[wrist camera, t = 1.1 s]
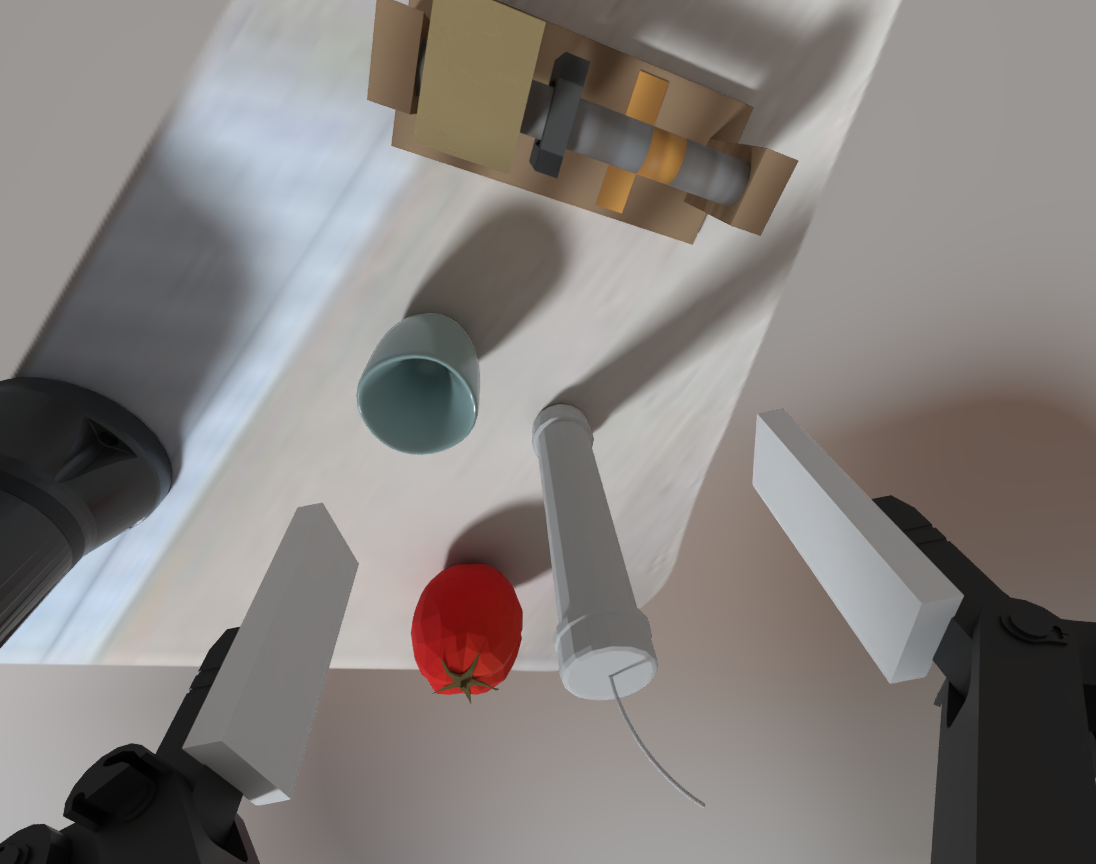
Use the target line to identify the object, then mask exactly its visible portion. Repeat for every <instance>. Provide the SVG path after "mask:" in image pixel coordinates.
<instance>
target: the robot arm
mask: <svg viewBox="0 0 1096 864" xmlns="http://www.w3.org/2000/svg"><path fill="white" fill-rule="evenodd" d="M171 481H172V472H171V466H170V462H169V459H168V457H167V454H166V452H165V450H164V449H163V447H162V445H161V444H160V442H159V441H158V440H157V438H156V437H155V436H154V434H153V433H152V432H151V431H150V430H149V429H148V428H147V427H146V426H145V425H144V424H143V423H142V422H141V421H140V420H138V419H137V418H136V417H135V416H133V415H132V414H131V413H129V412H128V411H127V410H125V409H124V408H122V407H121V406H119V405H117V404H116V403H114V402H112V401H110V400H109V399H107V398H105V397H103V396H101V395H98V394H96V393H94V392H92V391H89V390H86V389H84V388H81V387H78V386H75V385H72V384H68V383H64V382H60V381H55V380H49V379H40V378H15V379H8V380H3V381H0V648H1V647H2V646H3V645H4V644H5V643H6V642H7V640H8V639H9V638H10V637H11V636H12V635H13V634H14V633H15V631H16V630H17V629H18V628H19V627H20V626H21V625H22V624H23V623H24V621H25V620H26V619H27V618H28V617H29V616H30V615H31V614H32V612H33V611H34V610H35V609H36V608H37V607H38V606H39V605H40V603H41V602H42V601H43V600H44V599H45V598H46V597H47V596H48V594H49V593H50V592H51V591H52V590H53V589H54V588H55V587H56V585H57V584H58V583H59V582H60V581H61V580H62V579H63V578H64V577H65V575H66V574H67V573H68V572H69V571H70V570H71V569H72V568H73V567H74V566H75V565H76V564H77V562H78V561H79V560H80V559H81V558H82V557H83V556H84V555H86V554H88V553H89V552H91V551H93V550H94V549H96V548H98V547H99V546H101V545H103V544H104V543H106V542H108V541H109V540H111V539H112V538H114V537H116V536H117V535H119V534H120V533H122V532H124V531H127V530H129V529H131V528H133V527H135V526H136V525H138V524H140V523H141V522H143V521H144V520H145V519H146V518H147V517H149V516H150V515H151V514H152V512H153V511H154V510H155V509H156V508H157V507H158V505H159V504H160V503H161V502H162V501H163V499H164V498H165V497H166V495H167V493H168V491H169V489H170V486H171ZM752 485H753V486H754V488H755V489H756V490H757V492H758V493H759V494H760V496H761V498H762V499H763V500H764V502H765V504H766V505H767V506H768V508H769V509H770V511H771V512H772V514H773V515H774V516H775V518H776V519H777V521H778V522H779V524H780V525H781V527H782V528H783V529H784V531H785V532H786V534H787V535H788V536H789V538H790V540H791V541H792V543H793V544H794V545H795V547H796V548H797V550H798V551H799V553H800V554H801V556H802V557H803V558H804V560H805V561H806V563H807V564H808V566H809V567H810V568H811V570H812V572H813V573H814V574H815V576H816V577H817V579H818V580H819V581H820V583H821V584H822V586H823V587H824V589H825V590H826V592H827V593H828V595H829V596H830V598H831V599H832V600H833V602H834V603H835V605H836V606H837V608H838V609H839V611H840V612H841V613H842V615H843V616H844V618H845V619H846V621H847V622H848V624H849V625H850V626H851V628H852V629H853V631H854V632H855V633H856V635H857V636H858V638H859V639H860V641H861V642H862V644H863V645H864V647H865V648H866V650H867V651H868V652H869V654H870V655H871V657H872V658H873V660H874V661H875V663H876V664H877V666H878V667H879V668H880V670H881V671H882V673H883V674H884V676H885V677H886V679H887V680H888V681H889V683H890V684H891V683H896V682H902V681H907V680H912V679H917V678H922V677H926V676H927V674H928V671H929V669H930V667H931V665H932V663H933V661H934V662H935V664H937V666H938V667H939V668H940V670H941V671H942V672H943V674H944V675H945V676H946V679H945V681H944V683H943V685H942V687H941V689H940V691H939V693H938V695H937V697H936V699H935V702H934V705H937V706H939V707H940V706H941V704H942V711H941V724H940V739H939V753H938V767H937V782H936V795H935V810H934V823H933V838H932V852H931V864H1096V782H1095V777H1096V622H1084V621H1072V620H1064V619H1060V618H1059V617H1057V616H1056V615H1054V614H1053V613H1051V612H1049V611H1048V610H1046V609H1045V608H1043V607H1041V606H1038V605H1036V604H1033V603H1031V602H1028V601H1026V600H1020V599H1015V598H1010V597H1009V596H1008V595H1007V594H1005V593H1004V592H1003V591H1002V590H1001V589H999V587H998V586H996V585H995V584H994V583H993V582H992V581H991V580H990V579H989V578H988V577H987V576H986V575H985V574H984V573H983V572H982V571H981V570H980V569H979V568H977V567H976V566H975V565H974V564H973V563H972V562H971V561H970V560H969V559H968V558H967V557H966V556H965V555H964V554H963V553H962V552H961V551H959V550H958V549H957V548H956V547H955V546H954V545H953V544H952V543H951V542H950V541H949V542H948V541H947V540H946V537H945V536H944V535H942V534H941V532H939V531H938V530H937V529H936V528H933V527H932V524H931V523H930V522H929V521H928V520H927V519H926V518H925V517H924V516H922V515H921V513H919V512H918V511H917V510H916V509H915V508H914V507H912V506H910V505H908V504H906V503H905V502H903V501H901V500H899V499H897V498H895V497H893V496H891V495H890V496H885V497H880V498H875V499H870V498H869V497H868V496H867V495H866V494H865V493H864V491H863V490H861V488H860V487H859V486H858V485H857V484H856V483H855V482H854V481H853V480H852V479H851V478H850V477H849V476H848V475H847V474H846V473H845V472H844V471H843V470H842V469H841V468H840V467H839V466H838V465H837V464H836V462H835V461H834V460H833V459H831V457H830V456H829V455H828V454H827V453H826V452H825V451H824V450H823V449H822V448H821V447H820V446H819V445H818V444H817V443H816V442H815V441H814V440H813V439H812V438H811V437H810V436H809V435H808V434H807V433H806V431H805V430H804V429H802V427H801V426H800V425H799V424H797V422H796V421H795V420H794V419H793V418H792V417H791V416H790V415H789V414H788V413H787V412H786V411H785V410H784V409H778V410H773V411H768V412H763V413H758V414H757V426H756V440H755V454H754V468H753V482H752ZM358 565H359V563H358V562H357V560H356V558H355V557H354V555H353V553H352V552H351V550H350V548H349V546H348V545H347V543H346V541H345V540H344V538H343V536H342V535H341V533H340V531H339V530H338V528H337V526H336V524H335V523H334V521H333V519H332V518H331V516H330V514H329V513H328V511H327V509H326V508H325V506H324V504H323V503H318V504H313V505H308V506H303V507H299V508H297V510H296V512H295V514H294V516H293V518H292V520H291V523H290V525H289V527H288V529H287V531H286V533H285V535H284V537H283V539H282V541H281V543H280V545H279V547H278V550H277V552H276V554H275V556H274V558H273V560H272V562H271V564H270V566H269V568H268V570H267V572H266V575H265V577H264V579H263V581H262V583H261V585H260V587H259V589H258V591H257V593H256V595H255V597H254V600H253V602H252V604H251V606H250V608H249V610H248V612H247V614H246V616H245V618H244V620H243V622H242V625H241V627H236V628H231V629H227V630H226V631H225V632H224V633H223V635H222V636H221V637H220V638H219V639H218V640H217V642H216V643H215V644H214V645H213V646H212V647H211V648H210V650H209V652H208V653H207V655H206V657H205V659H204V661H203V663H202V665H201V667H200V669H199V671H198V672H199V674H198V675H197V676H196V677H195V679H194V681H193V682H192V685H191V687H190V688H189V690H190V692H189V693H187V694H186V696H185V698H184V700H183V702H182V704H181V706H180V708H179V710H178V711H177V714H176V715H175V717H174V720H173V721H172V723H171V725H170V727H169V729H168V731H167V733H166V735H165V737H164V739H163V741H162V742H161V745H160V746H159V748H158V750H157V752H156V754H154V753H152V752H151V751H149V750H148V749H147V748H145V747H144V746H142V745H138V744H132V743H131V744H128V745H125V746H121V747H118V748H116V749H114V750H113V751H111V752H109V753H108V754H106V755H104V756H103V757H101V758H100V759H99V760H98V761H97V762H96V763H95V764H94V765H92V766H91V767H90V768H89V769H88V770H87V771H86V772H85V773H84V774H83V776H82V777H81V778H80V779H79V781H78V782H77V783H76V784H75V786H74V787H73V789H72V791H71V793H70V795H69V797H68V798H67V800H66V802H65V808H64V813H63V816H64V817H65V818H68V819H69V820H71V821H74V822H75V823H74V824H72V825H70V826H68V827H66V828H64V829H62V830H60V831H58V830H55V829H53V828H51V827H49V826H47V825H45V824H33V825H31V826H28V827H26V828H24V829H21V830H19V831H17V832H16V833H14V834H13V835H12V836H10V837H9V838H7V839H6V840H5V841H3V842H2V843H0V864H260V863H259V860H258V857H257V855H256V853H255V850H254V847H253V844H252V842H251V839H250V837H249V834H248V831H247V829H246V826H245V824H244V821H243V820H242V818H241V817H240V816H239V815H238V814H237V810H238V807H239V804H240V801H241V798H242V796H245V797H246V798H247V799H249V800H250V801H251V802H252V803H254V804H255V805H256V806H258V805H264V804H269V803H274V802H279V801H285V800H289V799H291V797H292V794H293V790H294V787H295V783H296V780H297V776H298V773H299V769H300V766H301V763H302V759H303V756H304V752H305V749H306V745H307V742H308V738H309V735H310V731H311V728H312V724H313V721H314V718H315V714H316V711H317V707H318V703H319V700H320V696H321V693H322V690H323V686H324V682H325V679H326V676H327V672H328V669H329V665H330V662H331V658H332V655H333V652H334V648H335V645H336V641H337V638H338V634H339V631H340V627H341V624H342V620H343V617H344V613H345V610H346V606H347V603H348V599H349V596H350V593H351V589H352V586H353V582H354V579H355V575H356V572H357V568H358Z"/></svg>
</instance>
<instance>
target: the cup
mask: <svg viewBox="0 0 1096 864" xmlns="http://www.w3.org/2000/svg"><path fill="white" fill-rule="evenodd" d="M479 394H480V369H479V362H478V356H477V353H476V350H475V347H474V344H473V342H472V340H471V339H470V337H469V335H468V333H467V332H466V331H465V330H464V329H463V327H462V326H461V325H459V324H458V323H457V322H456V321H455V320H453V319H451V318H450V317H448V316H446V315H442V314H439V313H421V314H417V315H413V316H410V317H408V318H406V319H404V320H402V321H400V322H399V323H397V324H396V325H395V326H393V327H392V328H391V329H390V330H389V331H388V332H387V333H386V334H385V335H384V336H383V338H382V339H381V340H380V342H379V343H378V345H377V346H376V348H375V350H374V351H373V353H372V355H371V357H370V359H369V361H368V363H367V365H366V367H365V369H364V371H363V373H362V376H361V378H360V380H359V383H358V389H357V405H358V409H359V412H360V415H361V417H362V419H363V421H364V422H365V424H366V426H367V427H368V428H369V430H370V431H371V432H372V433H373V435H375V436H376V437H377V438H378V439H379V440H380V441H381V442H383V443H384V444H386V445H387V446H389V447H390V448H392V449H395V450H397V451H400V452H403V453H408V454H420V455H422V454H432V453H436V452H440V451H443V450H446V449H448V448H451V447H453V446H455V445H456V444H458V443H459V442H461V441H462V440H463V439H464V438H465V437H466V436H468V435H469V433H470V432H471V430H472V429H473V427H474V425H475V422H476V419H477V416H478V410H479Z"/></svg>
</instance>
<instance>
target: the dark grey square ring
mask: <svg viewBox="0 0 1096 864" xmlns="http://www.w3.org/2000/svg"><path fill="white" fill-rule="evenodd" d="M589 65H590V61H588V60H585V59H583V58H581V57H578V56H576V55H573V54H571V53H568V52H565V53H563V54H562V55H561V56H559V57H558V58H557V59H556V60H555V61H554V65H553V69H552V73H551V77H550V81H549V86H551V87H554V92H553V95H552V99H551V103H550V107H549V111H548V115H547V119H546V122H545V126H544V130H543V134H542V138H541V140H539V139H536V138H535V140H534V144H533V148H532V152H531V156H530V160H529V162H530V164H531V165H532V167H533V169H534V170H535V171H537V172H540V173H543V174H546V175H549V176H552V177H555V178H558V174H559V171H560V167H561V164H562V160H563V157H564V153H565V150H566V146H567V143H568V139H569V136H570V132H571V129H572V125H573V122H574V118H575V115H576V111H577V108H578V104H579V101H580V97H581V94H582V90H583V87H584V83H585V80H586V76H587V73H588V69H589Z"/></svg>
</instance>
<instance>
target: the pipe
mask: <svg viewBox="0 0 1096 864" xmlns="http://www.w3.org/2000/svg"><path fill="white" fill-rule="evenodd" d="M532 433H533V438H532V446H533V449H534V452H535V455H536V456H537V457H538V458H539V466H540V474H541V482H542V490H543V498H544V506H545V514H546V523H547V531H548V539H549V547H550V555H551V563H552V571H553V579H554V588H555V596H556V604H557V612H558V620H559V624H558V626H557V627H556V631H555V634H554V638H553V639H554V647H555V650H556V652H557V655H558V661H559V670H560V676H561V679H562V681H563V684H564V686H565V687H566V689H567V690H568V691H570V692H571V693H573V694H574V695H576V696H577V697H581V698H585V699H590V700H611V699H616V702H617V704H618V707H619V709H620V711H621V714H622V716H623V718H624V720H625V722H626V724H627V726H628V728H629V730H630V731H631V733H632V735H633V736H634V738H635V740H636V741H637V743H638V744H639V746H640V747H641V749H642V750H643V752H644V753H645V754H646V755H647V757H648V758H649V760H650V761H651V762H652V763H653V764H654V766H655V767H656V768H657V769H658V770H659V771H660V772H661V774H662V775H664V777H665V778H666V779H667V780H668V781H669V782H670V783H671V784H672V785H673V786H675V787H676V788H677V789H678V790H679V791H680V792H682V793H683V794H684V795H685V796H686V797H688V798H689V799H690V800H692V801H693V802H694V803H696V804H698V805H699V806H700V807H702V808H704V807H705V803H703V802H702V801H700V800H699V799H697V798H696V797H694V796H693V795H692V794H690V793H689V792H688V791H686V790H685V789H684V788H683V787H682V786H681V785H679V784H678V783H677V782H676V781H675V780H674V779H673V778H672V777H671V776H670V775H669V774H668V773H667V772H666V771H665V770H664V769H663V768H662V767H661V766H660V765H659V763H658V762H657V761H656V760H655V759H654V758H653V756H652V755H651V754H650V753H649V751H648V750H647V748H646V747H645V746H644V744H643V743H642V741H641V740H640V738H639V737H638V735H637V733H636V732H635V730H634V728H633V726H632V725H631V723H630V721H629V719H628V717H627V715H626V713H625V710H624V708H623V706H622V704H621V701H620V699H619V698H620V697H624V696H627V695H630V694H632V693H634V692H636V691H638V690H640V689H642V688H643V687H644V686H646V685H647V684H648V683H649V682H650V681H651V680H652V679H653V677H654V675H655V673H656V671H657V667H658V663H657V658H656V654H655V650H654V647H653V644H652V640H651V638H652V634H651V629H650V624H649V621H648V618H647V616H645V614H643V613H642V612H641V611H640V610H639V609H638V608H637V606H636V602H635V599H634V595H633V591H632V588H631V584H630V581H629V577H628V574H627V570H626V567H625V563H624V560H623V556H622V553H621V549H620V545H619V542H618V538H617V535H616V531H615V528H614V524H613V521H612V517H611V514H610V510H609V507H608V503H607V499H606V496H605V492H604V489H603V485H602V482H601V478H600V475H599V471H598V468H597V464H596V461H595V457H594V453H593V450H592V445H593V441H594V438H593V434H592V429H591V427H590V425H589V424H588V421H587V418H586V416H585V415H584V414H583V413H582V412H581V410H579V409H577V408H575V407H573V406H571V405H564V404H558V405H554V406H550V407H548V408H546V409H545V410H543V411H542V412H540V413H539V415H538V416H537V418H536V419H535V421H534V424H533V430H532Z"/></svg>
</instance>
